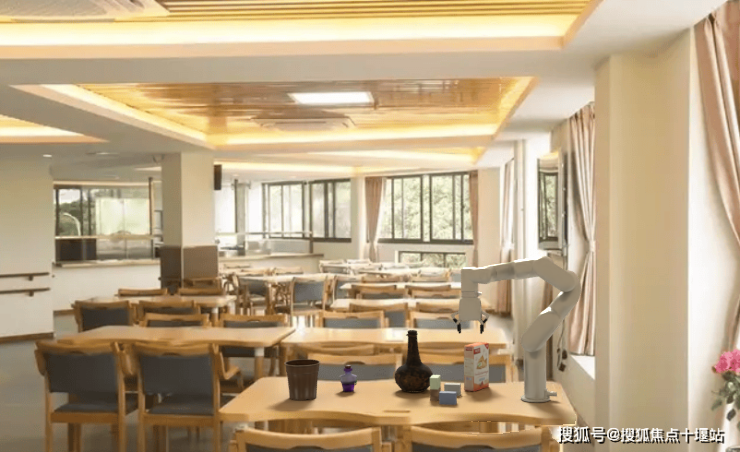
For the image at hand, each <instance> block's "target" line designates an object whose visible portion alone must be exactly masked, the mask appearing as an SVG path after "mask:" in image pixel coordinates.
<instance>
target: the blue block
mask: <svg viewBox="0 0 740 452" xmlns="http://www.w3.org/2000/svg"><path fill="white" fill-rule="evenodd" d="M457 397H458V396H457V392H452V391H444V390H441V391H440V392H439V400H438V404H439V405H449V406H450V405H451V406H453V405H454V406H456V405H457V403H458V400H457V399H458V398H457Z"/></svg>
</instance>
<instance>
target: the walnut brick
mask: <svg viewBox="0 0 740 452" xmlns="http://www.w3.org/2000/svg"><path fill="white" fill-rule="evenodd" d="M441 388H442V386H440V388H439V389H430V388H429V401H430V402H431V401H434V402H439V392H440V391H442V389H441Z"/></svg>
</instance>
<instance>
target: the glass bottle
mask: <svg viewBox="0 0 740 452" xmlns="http://www.w3.org/2000/svg"><path fill="white" fill-rule="evenodd" d="M405 336H407V354H406V361H405V363H404V364H402V365H400V366H398V367H397V369H396V370H395V372H394V381H395V383H396V385H397V386H398V387H399V389H401V390H402V391H403V392H406V393H421V392H424V391H426V390H428V389H430V377H431V376H432V375H434V374H433V370H432V369H431V368H430V367H429V366H428V365H426V364H424V363H423V361H422V359H421V355H420V351H419V344H418V330H415V329H409V330H407V334H405Z"/></svg>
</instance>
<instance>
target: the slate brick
mask: <svg viewBox="0 0 740 452" xmlns="http://www.w3.org/2000/svg"><path fill="white" fill-rule="evenodd" d="M461 383H462V382H445V383H444V384H443V391H452V392H457V397H459V396H461V395H462V388H461V386H462V385H461Z"/></svg>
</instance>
